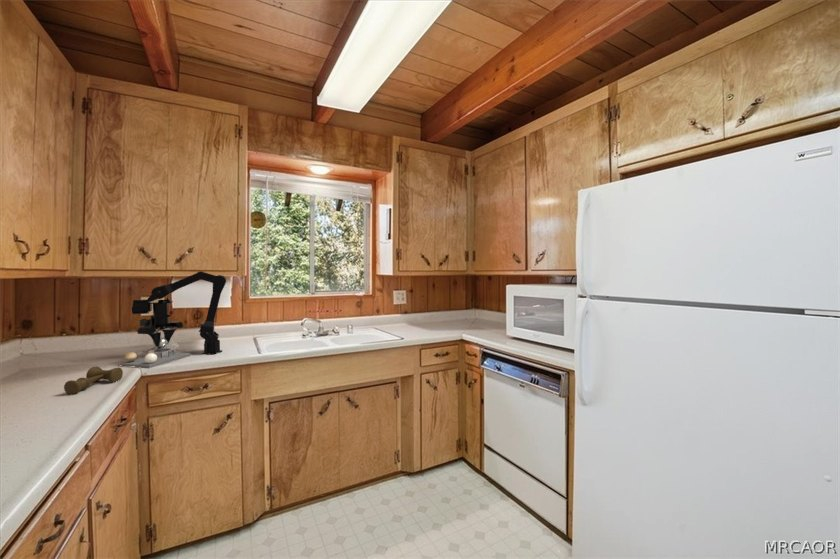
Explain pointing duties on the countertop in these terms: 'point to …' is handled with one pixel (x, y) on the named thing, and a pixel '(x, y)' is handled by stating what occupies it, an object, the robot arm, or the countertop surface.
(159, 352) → the crimped metal cup
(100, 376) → the kendama
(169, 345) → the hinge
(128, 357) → the tan wooden ball
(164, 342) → the steel ball
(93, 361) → the countertop surface
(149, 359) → the plastic ball
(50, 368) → the countertop surface
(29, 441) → the countertop surface
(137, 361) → the mat
